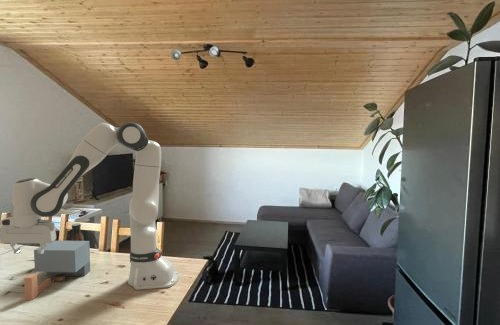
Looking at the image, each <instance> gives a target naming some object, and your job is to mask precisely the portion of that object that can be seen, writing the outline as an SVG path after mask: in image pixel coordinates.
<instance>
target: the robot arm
mask: <svg viewBox="0 0 500 325" xmlns="http://www.w3.org/2000/svg"><path fill="white" fill-rule="evenodd" d="M118 145H121V146H123V147H125V148H127V149H131V150H133V151H134V152H135V160H134V161H135V162H134V171H133V180H132V197H131V198H130V200H129V203H128V210H129V211H128V213H129V215H128V216H129V230H130V231H129V232H130V251H129V262H130V270H129V275H128V279H127V284H128V285H129V286H131V287H133V289H134V290H135V291H136V290H137V291H138V290H151V289H163V288H164V289H165V288H171V287H173V286H174V285H176V283H177V282H178V280H179V279H180V274H179V273H180V272H178V271H177V270H175V269H174V268H175V267H174V264H173V263H172V261H169V260H168V259H167V258H165V257H163V256H162V251H163V250H162V248H160V249H159V247H157V245H158V244H157V228H156V227H157V225H156V220H157V218H158V215H159V205H160V204H159V202H160V178H161V167H162V148H161V145H160V144H159V143H158V142H157V141H154V140H150V139H149V138H148V136H147V134H146V131H145V128H143V127H142V126H141V125H140V124H139V123H137V122H132V121H127V122H126V123H124V124H122V125H121V126H119V127H116V126H113V125H112V124H110V123H107V122H100V123H98V124H97V125H96V126H94V127H93V128H91V130H90V131H88V133H87V134H86V135H85V136H84V137H83V138H82V140H80V142H79V143H78V145H77V146H76V148H75V150H74V151H73V153H72V155H71V157H70V159H69V161H68V163H67V165H66V166H65V167H64V168H63V170H62V171H60V174H58V176H57V177H56V178H55V179H54V180H53V181H52V182H51V183H47V182H44V181H42V180H40V179H39V178H36V177H30V178H29V177H28V178H23V179H21V180H18V181H16V182H15V183H14V184H13V187H12V198H11V199H12V205H13V212H12V215H11V216H8V217H6V218H3V219H0V243H3V244H9V246H10V247H11V248H12V250H13V254H20V253H21V252H22V250H21V247H19V246H18V244H39V247H40V246H41V248H40V249H38V250H37V251H38V254H43V253H44V248H45V247H46V245H47V244H50V243H52V242H54V241H57V240H56V239H57V235H56V234H57V233H56V228H55V226H56V224H55V222H53V221H52V220H51V219H42V218H48V217H53V216H56V215H57V214H58V213H59V212H60V211H61V209H62V208H63V207H64V205H65V204H66V203H67V201H68V199H69V193H68V192H69V191H71V189H72V188H73V187H74V186H75V185H76V183H77V182H78V181H79V179H80V178H81V177H83V176H84V175H85V174H86V173H88V172H89V171H90V170H92V169H94V168H95V167H96V166H97V165H99V164H100V163H101V162H102V161H103V160H104V159H105V158H106V157H107V156H108V154H109V153H110V151H112V149H114V147H116V146H118Z"/></svg>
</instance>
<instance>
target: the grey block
mask: <svg viewBox="0 0 500 325" xmlns="http://www.w3.org/2000/svg"><path fill="white" fill-rule="evenodd" d="M90 247H91V246H90V240H84V241H70V240H55V241H54V242H52V243H50V244H47V245H46V247H45V248H44V253H43V254H38V251H37V250H38V249H40V248H41V246H40V245H39V247H37V248H35V249H34V250H33V258H34V272H35V273H45V275H46V276H56V275H59V274H64V275H65V277H67V276H69V277H71V276H72V277H73V276H74V277H77V276H78V277H79V276H80V277H81V276H82V277H85V276H86V275H88V274H89V273H90V272H91V252H90V250H91V248H90Z"/></svg>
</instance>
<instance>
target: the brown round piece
mask: <svg viewBox="0 0 500 325" xmlns="http://www.w3.org/2000/svg"><path fill="white" fill-rule="evenodd" d="M65 280H66V276H65V275H64V274H59V275H53V283H56V284H57V283H59V284H60V283H62V282H64V281H65Z"/></svg>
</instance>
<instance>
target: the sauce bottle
mask: <svg viewBox="0 0 500 325" xmlns="http://www.w3.org/2000/svg"><path fill="white" fill-rule="evenodd" d="M81 226H82V224H81V223H80V222H79V223H72V224H71V230H72V232H71V236H70V239H69V241H85V237H84V234H83V233H82V230H81Z"/></svg>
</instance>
